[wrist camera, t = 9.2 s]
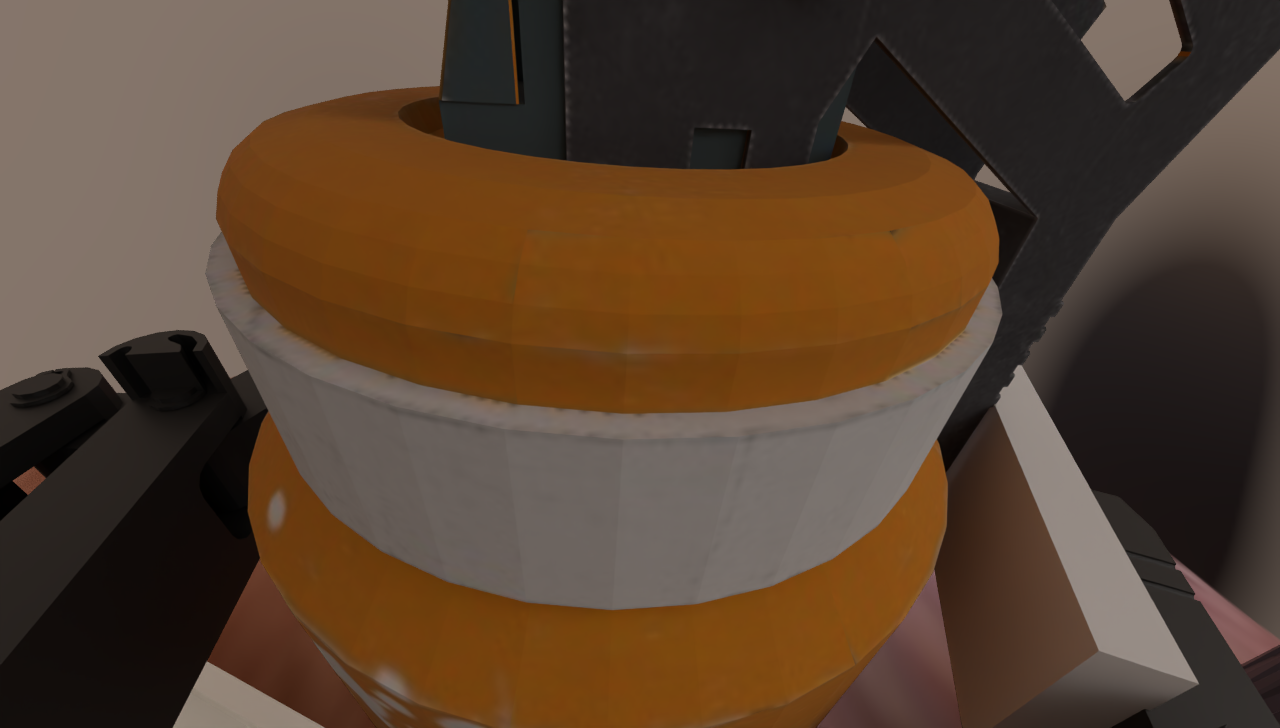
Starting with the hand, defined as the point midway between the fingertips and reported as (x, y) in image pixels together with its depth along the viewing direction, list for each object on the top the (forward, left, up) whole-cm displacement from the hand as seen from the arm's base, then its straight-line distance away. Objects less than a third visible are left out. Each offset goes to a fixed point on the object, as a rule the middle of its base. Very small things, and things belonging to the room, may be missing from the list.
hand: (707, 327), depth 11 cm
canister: (+4, 0, -11) cm, 12 cm away
